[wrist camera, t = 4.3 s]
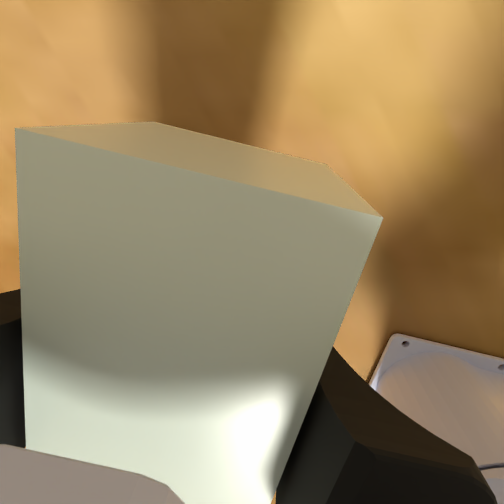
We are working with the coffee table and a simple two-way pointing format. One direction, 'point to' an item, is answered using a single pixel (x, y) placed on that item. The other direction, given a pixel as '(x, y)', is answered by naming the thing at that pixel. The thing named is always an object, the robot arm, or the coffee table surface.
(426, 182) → the coffee table surface
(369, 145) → the coffee table surface
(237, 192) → the pale green block
